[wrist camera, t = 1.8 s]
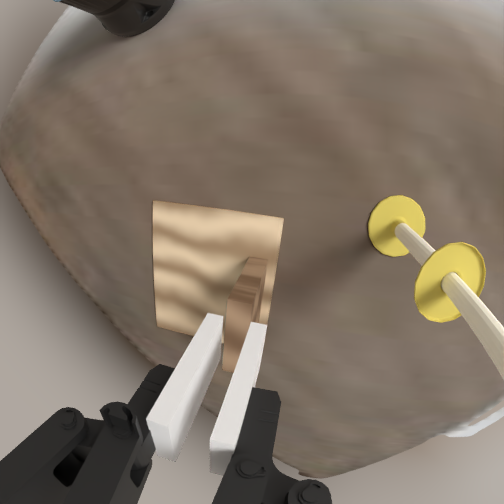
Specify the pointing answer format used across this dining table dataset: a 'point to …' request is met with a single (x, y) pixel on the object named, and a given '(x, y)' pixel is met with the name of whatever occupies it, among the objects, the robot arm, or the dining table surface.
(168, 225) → the light wooden board
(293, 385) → the dining table surface
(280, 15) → the dining table surface
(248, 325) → the panel
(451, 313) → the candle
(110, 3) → the robot arm
